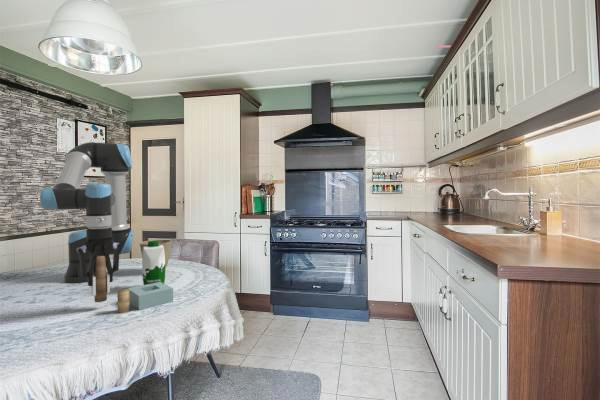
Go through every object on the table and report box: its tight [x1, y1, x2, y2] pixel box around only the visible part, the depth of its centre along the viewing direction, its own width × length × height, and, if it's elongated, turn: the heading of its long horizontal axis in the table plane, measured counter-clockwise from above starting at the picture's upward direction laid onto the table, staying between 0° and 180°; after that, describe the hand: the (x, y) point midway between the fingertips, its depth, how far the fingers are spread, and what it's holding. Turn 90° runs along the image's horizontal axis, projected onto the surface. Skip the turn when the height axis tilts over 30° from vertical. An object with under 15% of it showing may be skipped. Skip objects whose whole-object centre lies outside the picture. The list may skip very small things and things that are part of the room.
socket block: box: [127, 282, 174, 311], centre depth 116 cm, size 12×12×5 cm
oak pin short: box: [116, 288, 131, 314], centre depth 106 cm, size 4×4×7 cm
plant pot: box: [139, 239, 173, 271], centre depth 157 cm, size 15×15×16 cm
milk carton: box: [141, 240, 166, 285], centre depth 131 cm, size 9×9×20 cm
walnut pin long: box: [94, 255, 108, 303], centre depth 108 cm, size 4×4×16 cm
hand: (100, 293), depth 109 cm, fingers closed on walnut pin long, 3 cm apart
